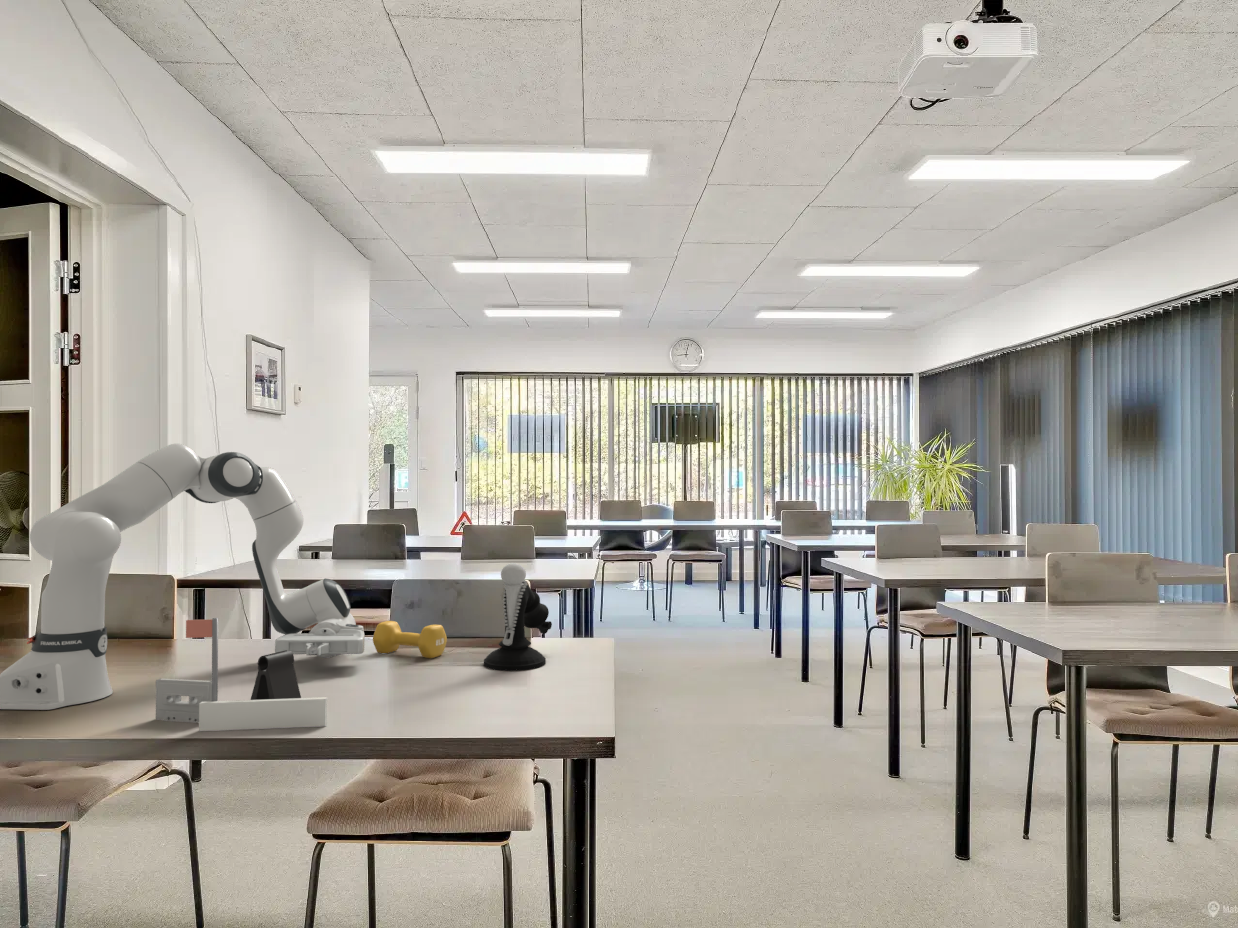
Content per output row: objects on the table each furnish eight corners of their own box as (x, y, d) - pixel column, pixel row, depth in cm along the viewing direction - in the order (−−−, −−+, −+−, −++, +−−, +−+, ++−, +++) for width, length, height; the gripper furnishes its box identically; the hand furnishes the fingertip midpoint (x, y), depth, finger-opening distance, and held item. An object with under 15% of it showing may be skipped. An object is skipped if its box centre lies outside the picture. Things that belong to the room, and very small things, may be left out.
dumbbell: (450, 654, 211) (450, 623, 212) (428, 661, 203) (429, 628, 203) (392, 648, 219) (392, 618, 219) (369, 655, 211) (369, 623, 211)
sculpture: (471, 667, 196) (472, 564, 196) (520, 648, 218) (520, 556, 218) (527, 673, 190) (527, 566, 191) (571, 653, 212) (570, 558, 212)
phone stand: (304, 714, 156) (305, 652, 157) (279, 722, 151) (280, 658, 151) (271, 708, 160) (272, 648, 161) (246, 716, 155) (246, 653, 155)
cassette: (216, 721, 152) (216, 680, 153) (209, 723, 151) (210, 682, 151) (160, 717, 155) (160, 677, 155) (153, 720, 153) (153, 680, 153)
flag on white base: (181, 731, 145) (182, 620, 146) (209, 710, 159) (210, 608, 159) (325, 726, 149) (326, 617, 149) (341, 705, 162) (341, 606, 163)
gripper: (284, 625, 198) (266, 638, 184) (369, 625, 200) (358, 638, 187) (283, 651, 198) (265, 665, 184) (369, 650, 200) (357, 665, 187)
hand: (312, 651), depth 185 cm, fingers closed
